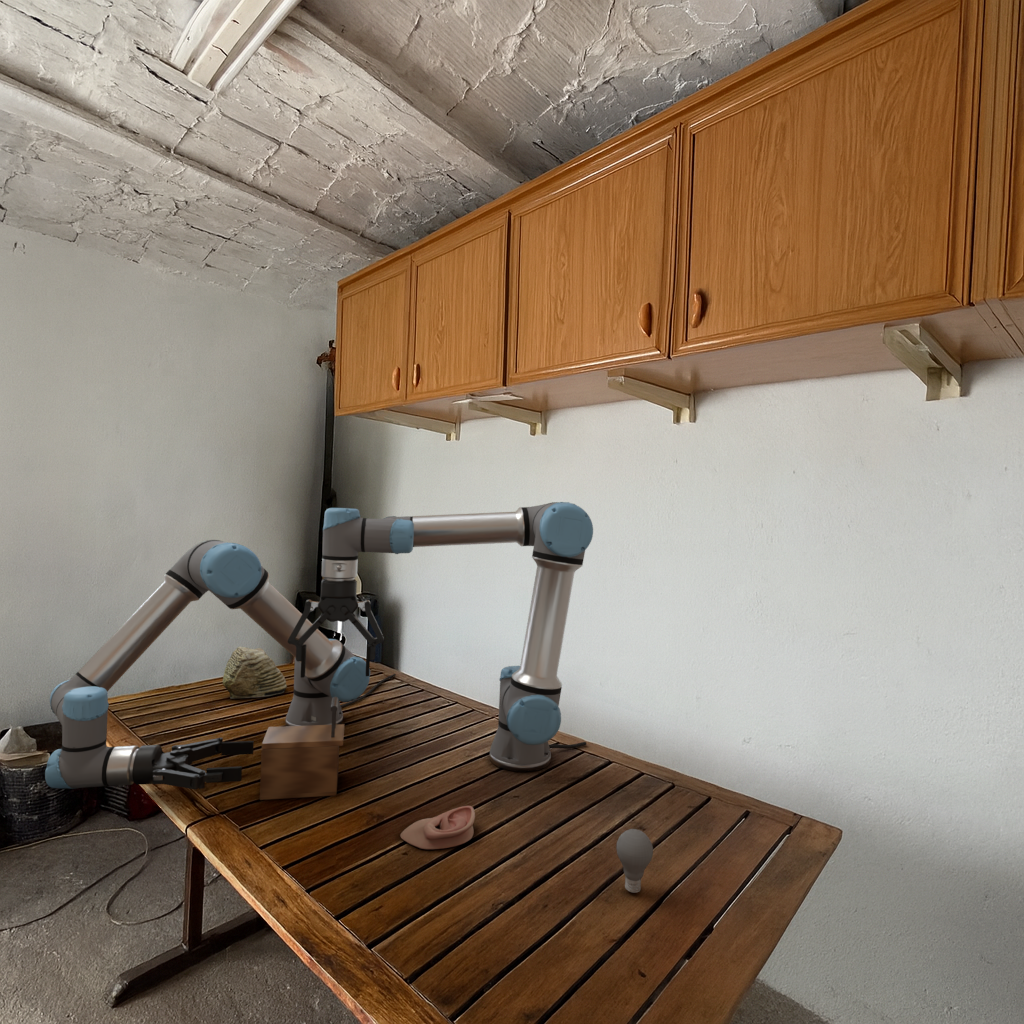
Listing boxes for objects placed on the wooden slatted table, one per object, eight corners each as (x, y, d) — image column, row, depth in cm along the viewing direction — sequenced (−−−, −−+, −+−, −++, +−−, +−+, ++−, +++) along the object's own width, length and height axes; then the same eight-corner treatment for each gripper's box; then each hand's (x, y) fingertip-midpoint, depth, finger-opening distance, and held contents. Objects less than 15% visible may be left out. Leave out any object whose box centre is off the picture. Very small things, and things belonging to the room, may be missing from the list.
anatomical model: (394, 823, 116) (416, 795, 127) (393, 844, 116) (415, 814, 128) (464, 834, 114) (480, 804, 125) (463, 855, 114) (479, 824, 125)
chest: (338, 775, 144) (339, 729, 144) (336, 795, 135) (338, 746, 135) (266, 779, 141) (268, 732, 140) (259, 800, 131) (261, 749, 131)
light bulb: (610, 879, 108) (613, 822, 108) (644, 879, 109) (647, 822, 109) (619, 902, 102) (622, 840, 102) (655, 901, 103) (658, 840, 103)
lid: (344, 729, 144) (345, 694, 144) (342, 745, 135) (344, 708, 135) (268, 732, 140) (269, 695, 140) (261, 749, 131) (263, 710, 131)
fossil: (218, 695, 195) (220, 647, 195) (278, 685, 208) (279, 640, 207) (228, 703, 189) (230, 653, 188) (289, 692, 201) (290, 645, 201)
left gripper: (156, 758, 142) (256, 753, 147) (112, 813, 118) (234, 805, 122) (157, 725, 142) (258, 721, 147) (113, 773, 118) (236, 767, 122)
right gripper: (276, 580, 132) (272, 681, 132) (398, 581, 137) (394, 678, 138) (281, 575, 139) (277, 671, 139) (396, 577, 145) (392, 669, 145)
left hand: (247, 759), depth 135 cm, fingers open, 13 cm apart
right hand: (335, 675), depth 139 cm, fingers open, 13 cm apart
